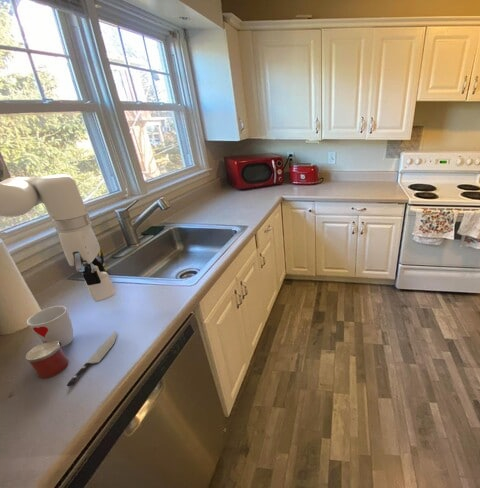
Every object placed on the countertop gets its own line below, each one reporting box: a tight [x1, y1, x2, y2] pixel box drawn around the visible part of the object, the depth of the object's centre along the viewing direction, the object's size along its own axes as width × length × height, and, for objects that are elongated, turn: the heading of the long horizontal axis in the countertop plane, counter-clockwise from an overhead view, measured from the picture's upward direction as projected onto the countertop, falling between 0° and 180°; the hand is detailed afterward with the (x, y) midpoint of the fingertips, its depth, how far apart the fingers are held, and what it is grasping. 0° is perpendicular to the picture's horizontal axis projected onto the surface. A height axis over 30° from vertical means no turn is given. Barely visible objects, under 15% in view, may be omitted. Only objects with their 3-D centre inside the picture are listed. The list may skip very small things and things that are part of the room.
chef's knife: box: [66, 331, 117, 387], centre depth 76 cm, size 19×1×3 cm
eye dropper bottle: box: [84, 265, 117, 303], centre depth 83 cm, size 4×6×12 cm
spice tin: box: [25, 341, 69, 379], centre depth 72 cm, size 6×6×7 cm
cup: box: [26, 305, 74, 348], centre depth 79 cm, size 8×8×10 cm
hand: (97, 278), depth 83 cm, fingers closed on eye dropper bottle, 4 cm apart
